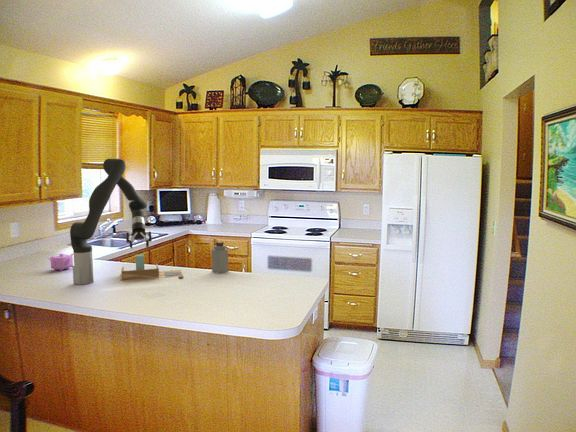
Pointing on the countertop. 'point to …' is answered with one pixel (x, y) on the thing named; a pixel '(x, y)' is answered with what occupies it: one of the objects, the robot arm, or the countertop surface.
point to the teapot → (61, 262)
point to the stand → (148, 274)
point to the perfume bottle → (219, 258)
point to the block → (140, 262)
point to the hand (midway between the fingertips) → (139, 247)
